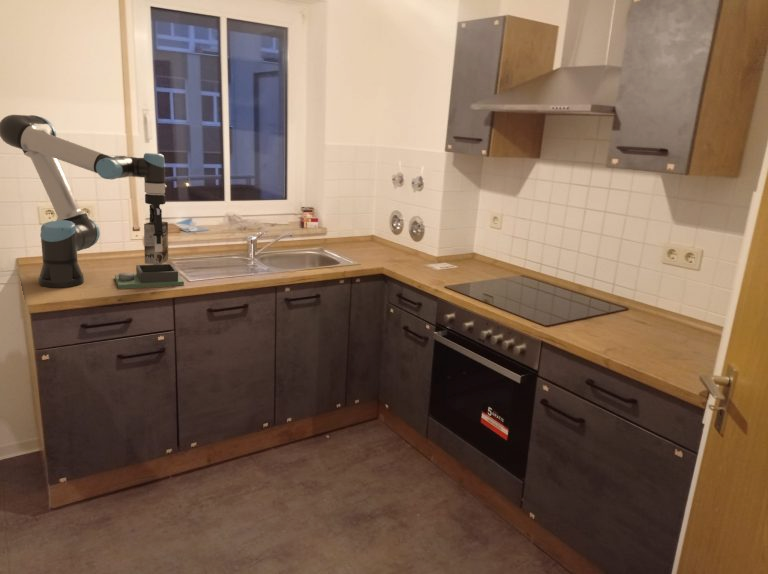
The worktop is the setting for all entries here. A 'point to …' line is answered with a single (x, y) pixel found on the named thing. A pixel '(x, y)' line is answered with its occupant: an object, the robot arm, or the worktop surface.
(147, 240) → the coffee box
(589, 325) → the worktop surface
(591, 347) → the worktop surface
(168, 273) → the deck
